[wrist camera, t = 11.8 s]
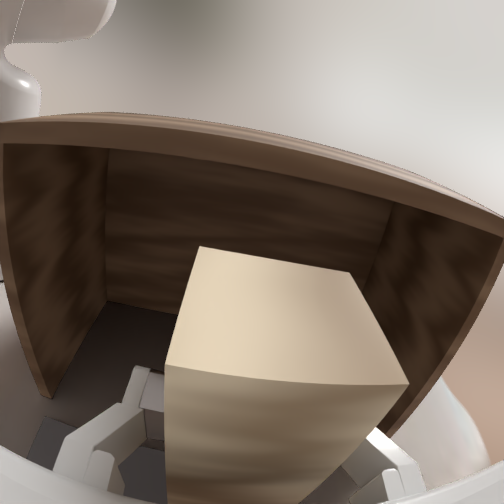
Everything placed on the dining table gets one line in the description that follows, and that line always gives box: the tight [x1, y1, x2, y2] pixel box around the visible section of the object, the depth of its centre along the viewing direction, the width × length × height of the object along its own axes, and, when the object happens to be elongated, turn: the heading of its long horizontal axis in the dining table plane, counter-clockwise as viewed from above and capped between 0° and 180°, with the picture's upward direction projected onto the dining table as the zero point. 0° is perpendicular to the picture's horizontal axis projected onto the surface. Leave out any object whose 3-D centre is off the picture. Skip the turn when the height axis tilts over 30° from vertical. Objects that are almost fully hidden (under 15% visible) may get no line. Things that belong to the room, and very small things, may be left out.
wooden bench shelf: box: [0, 112, 504, 438], centre depth 22 cm, size 15×28×19 cm, turn 91°
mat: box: [26, 416, 168, 504], centre depth 11 cm, size 10×10×1 cm
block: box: [164, 246, 409, 504], centre depth 9 cm, size 4×4×10 cm
